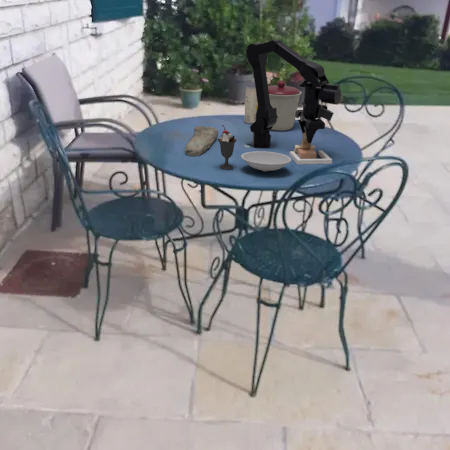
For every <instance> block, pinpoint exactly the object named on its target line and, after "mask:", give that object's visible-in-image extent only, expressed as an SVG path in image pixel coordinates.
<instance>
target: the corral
mask: <svg viewBox="0 0 450 450" xmlns="http://www.w3.org/2000/svg"><path fill="white" fill-rule="evenodd" d="M317 155H319V157H320V158H316V159H300V157H299V156H298V155H297V153H295V152H294V150H290V151H289V155H288V156H289V157H290V158H291V160H293V161H294V162H295V163H296V165H321V164H322V165H323V164H324V165H327V164H328V165H331V164H332V163H333V158H331V157H330V156H329V155H328V154H327V153H326V152H325V151H323V150H318V152H317Z"/></svg>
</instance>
